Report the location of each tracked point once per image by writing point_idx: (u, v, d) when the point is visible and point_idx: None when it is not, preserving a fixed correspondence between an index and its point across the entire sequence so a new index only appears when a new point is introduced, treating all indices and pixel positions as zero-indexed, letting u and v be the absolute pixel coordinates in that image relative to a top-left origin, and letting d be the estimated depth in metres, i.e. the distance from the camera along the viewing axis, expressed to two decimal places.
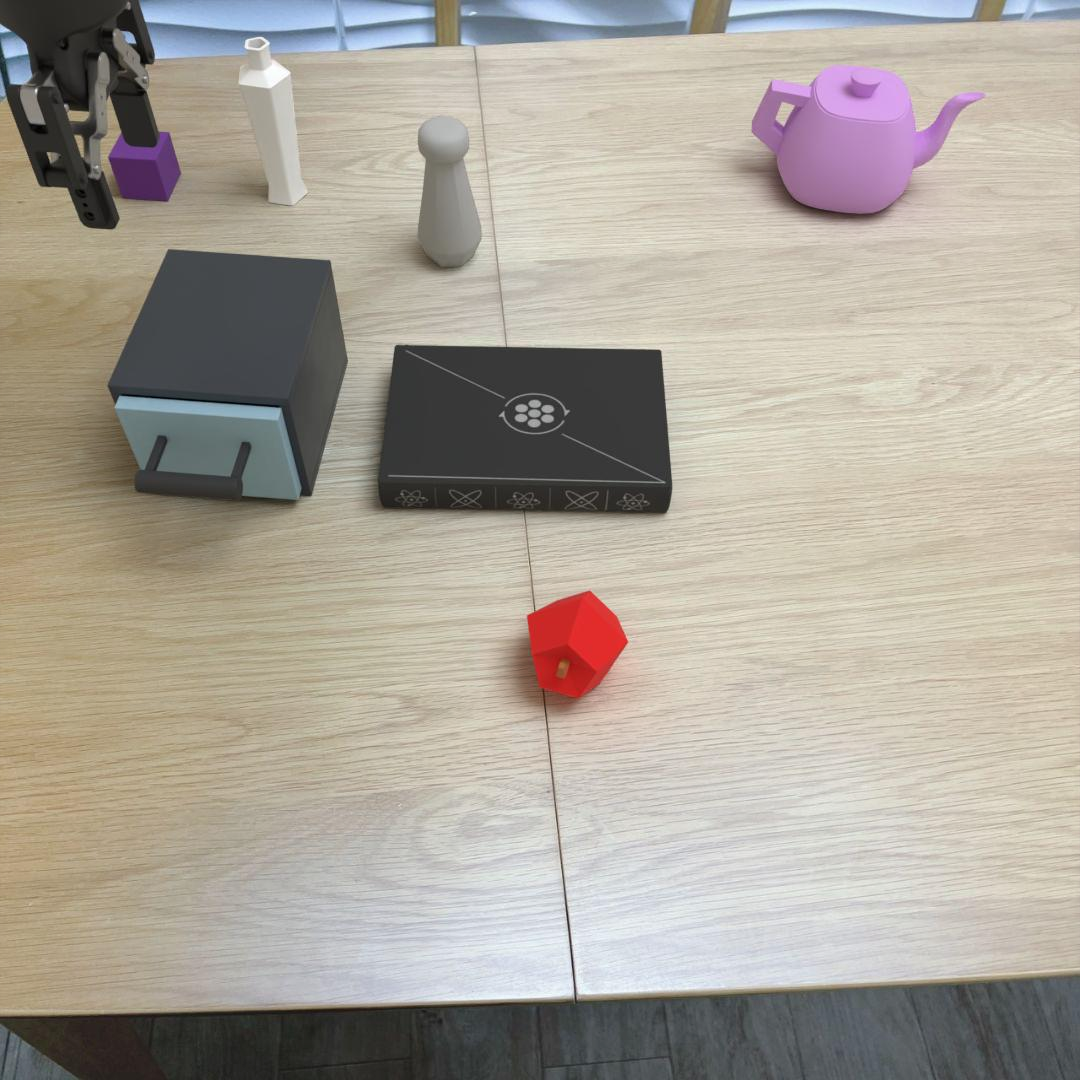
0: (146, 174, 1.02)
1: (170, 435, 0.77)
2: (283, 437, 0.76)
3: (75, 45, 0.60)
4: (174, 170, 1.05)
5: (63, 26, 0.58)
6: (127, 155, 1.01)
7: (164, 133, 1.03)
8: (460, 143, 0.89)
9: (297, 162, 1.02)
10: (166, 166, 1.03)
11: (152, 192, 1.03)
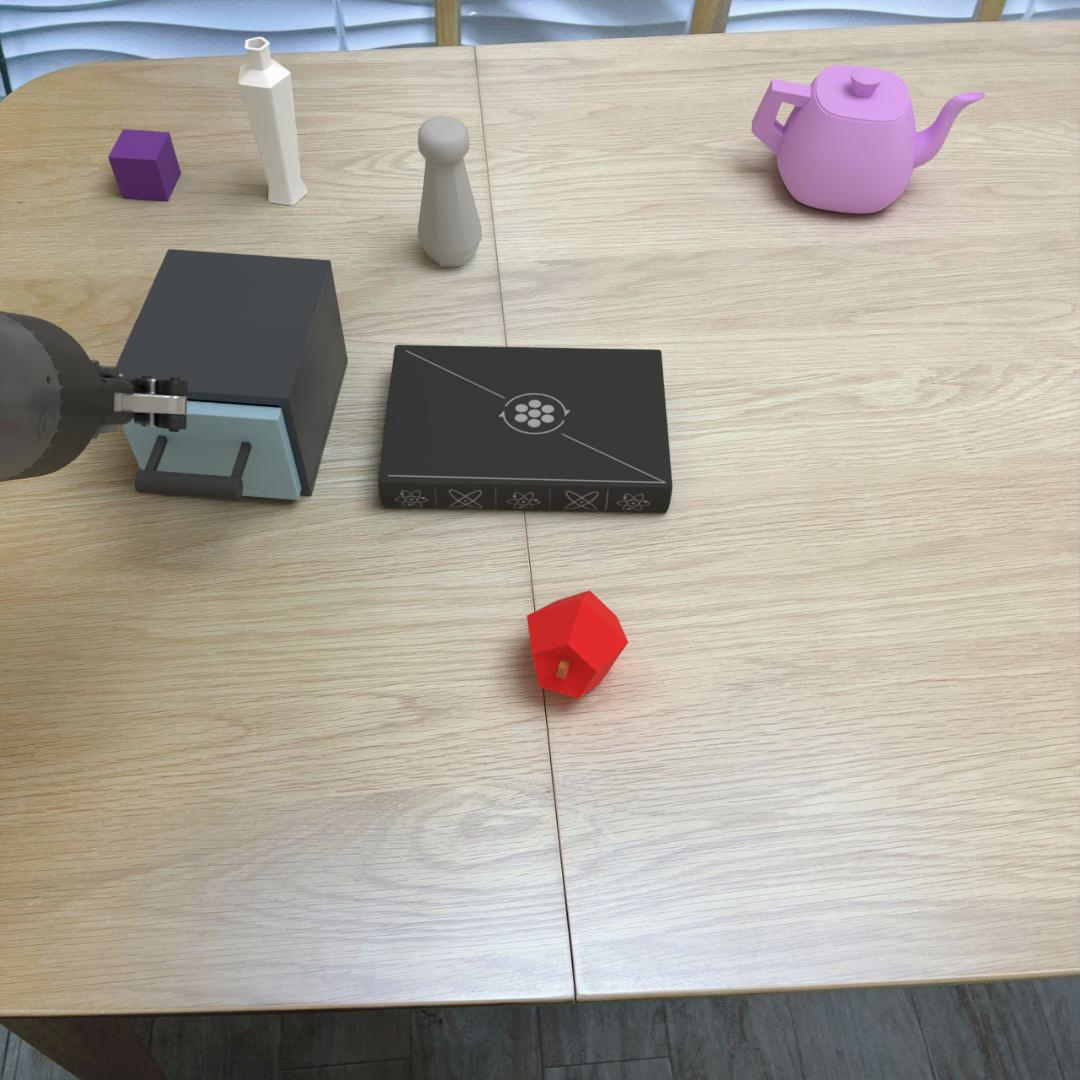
0: (146, 174, 1.02)
1: (170, 435, 0.77)
2: (283, 437, 0.76)
3: None
4: (174, 170, 1.05)
5: None
6: (127, 155, 1.01)
7: (164, 133, 1.03)
8: (460, 143, 0.89)
9: (297, 162, 1.02)
10: (166, 166, 1.03)
11: (152, 192, 1.03)
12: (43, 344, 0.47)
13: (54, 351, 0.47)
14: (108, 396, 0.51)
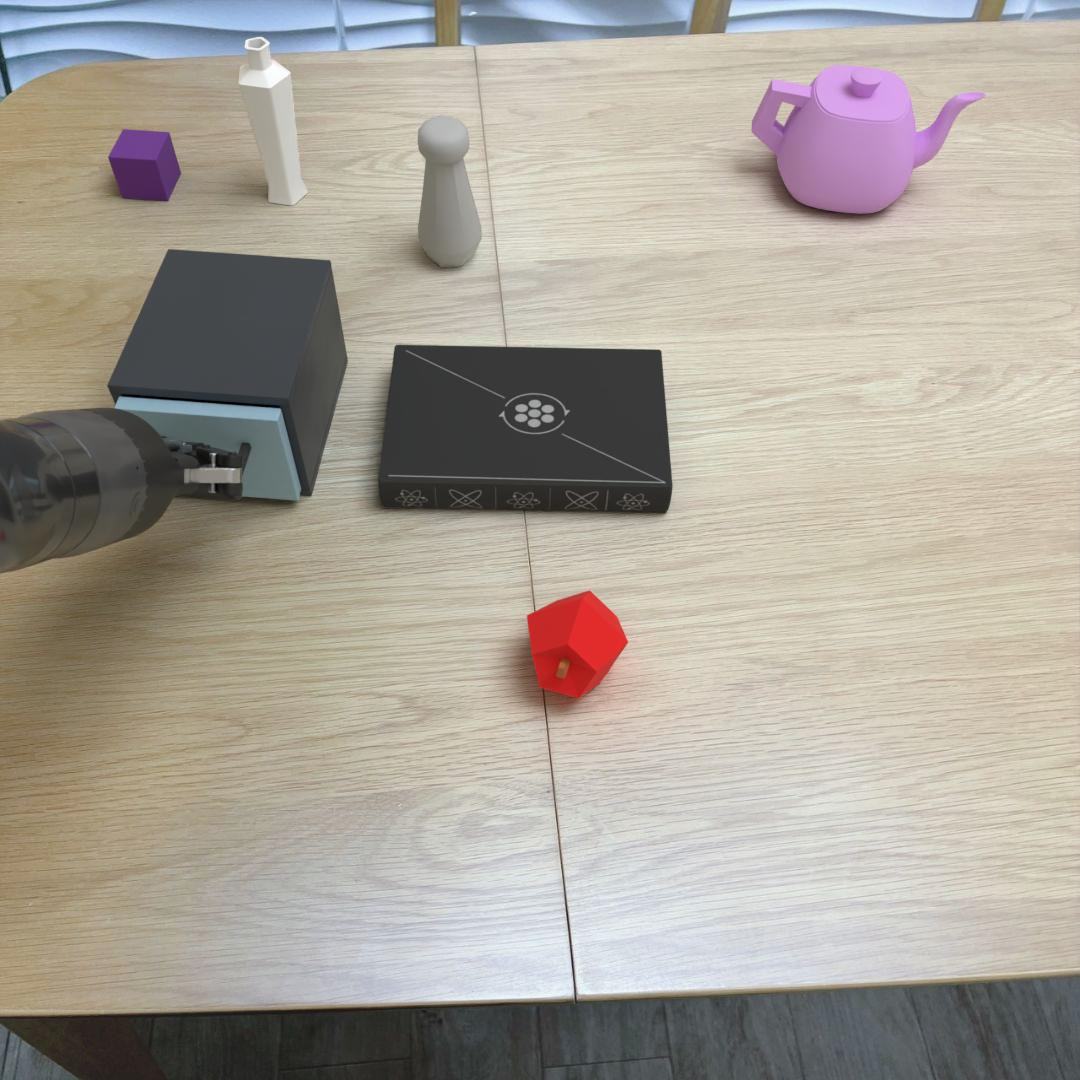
0: (146, 174, 1.02)
1: (170, 436, 0.77)
2: (282, 438, 0.76)
3: None
4: (174, 170, 1.05)
5: None
6: (127, 155, 1.01)
7: (164, 133, 1.03)
8: (460, 143, 0.89)
9: (297, 162, 1.02)
10: (166, 166, 1.03)
11: (152, 192, 1.03)
12: (132, 439, 0.58)
13: (140, 443, 0.58)
14: (180, 473, 0.62)
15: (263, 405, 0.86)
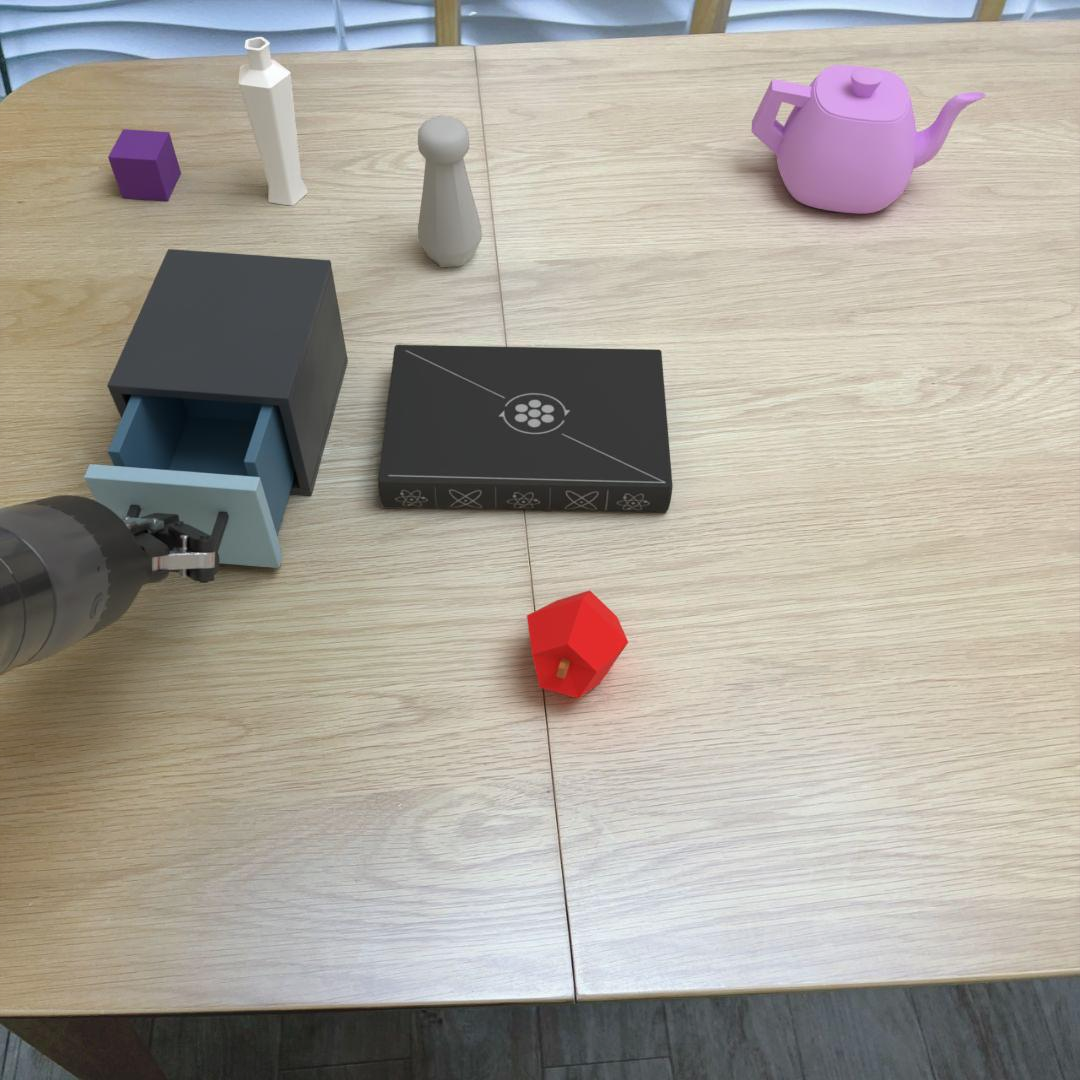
0: (146, 174, 1.02)
1: (143, 504, 0.73)
2: (261, 507, 0.72)
3: None
4: (174, 170, 1.05)
5: None
6: (127, 155, 1.01)
7: (164, 133, 1.03)
8: (460, 143, 0.89)
9: (297, 162, 1.02)
10: (166, 166, 1.03)
11: (152, 192, 1.03)
12: (93, 535, 0.54)
13: (102, 538, 0.55)
14: (147, 562, 0.59)
15: (244, 465, 0.82)
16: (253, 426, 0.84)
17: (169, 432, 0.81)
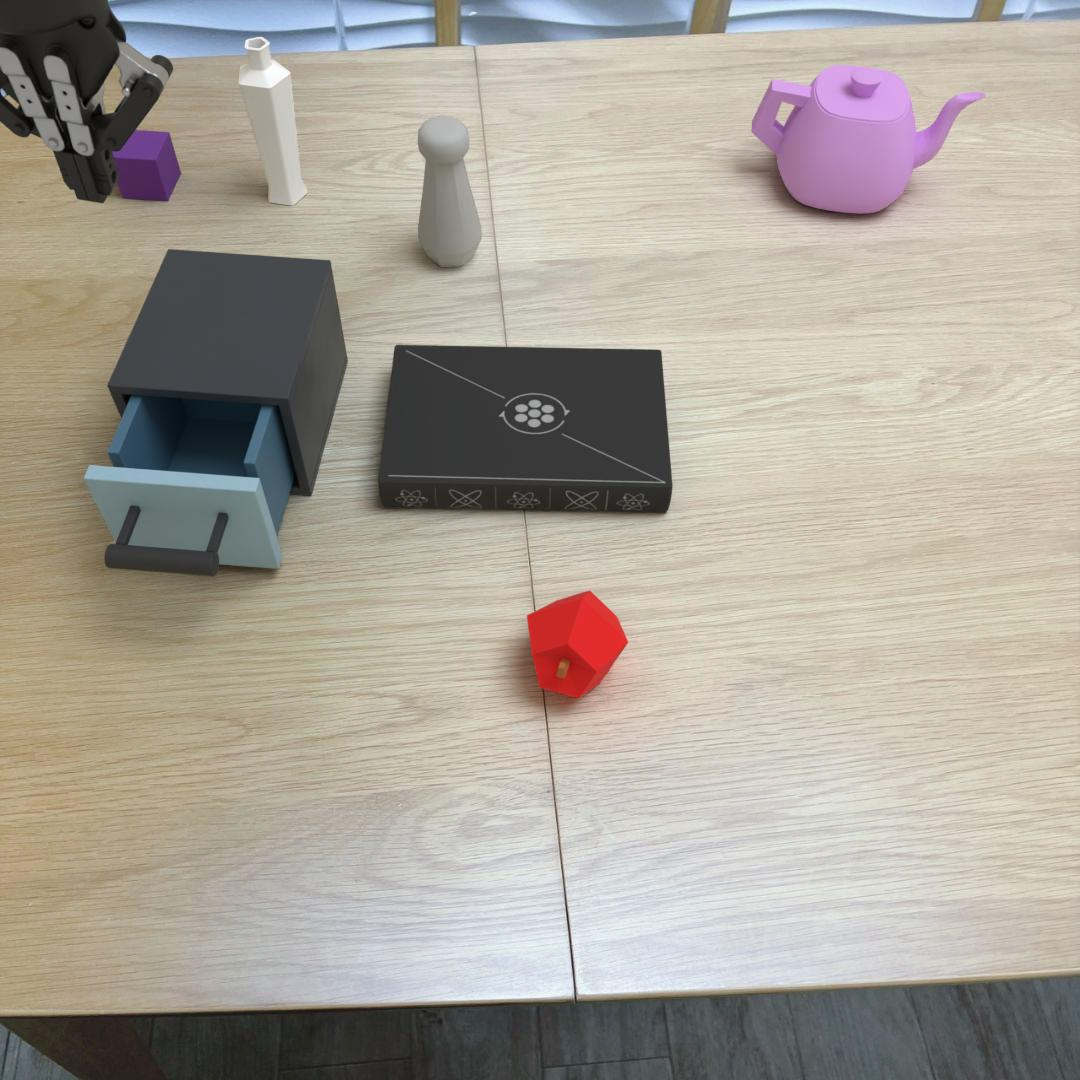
0: (146, 174, 1.02)
1: (143, 505, 0.73)
2: (261, 508, 0.72)
3: None
4: (174, 170, 1.05)
5: None
6: (127, 155, 1.01)
7: (164, 133, 1.03)
8: (460, 143, 0.89)
9: (297, 162, 1.02)
10: (166, 166, 1.03)
11: (152, 192, 1.03)
12: None
13: None
14: (106, 8, 0.56)
15: (243, 465, 0.82)
16: (253, 427, 0.84)
17: (169, 433, 0.81)
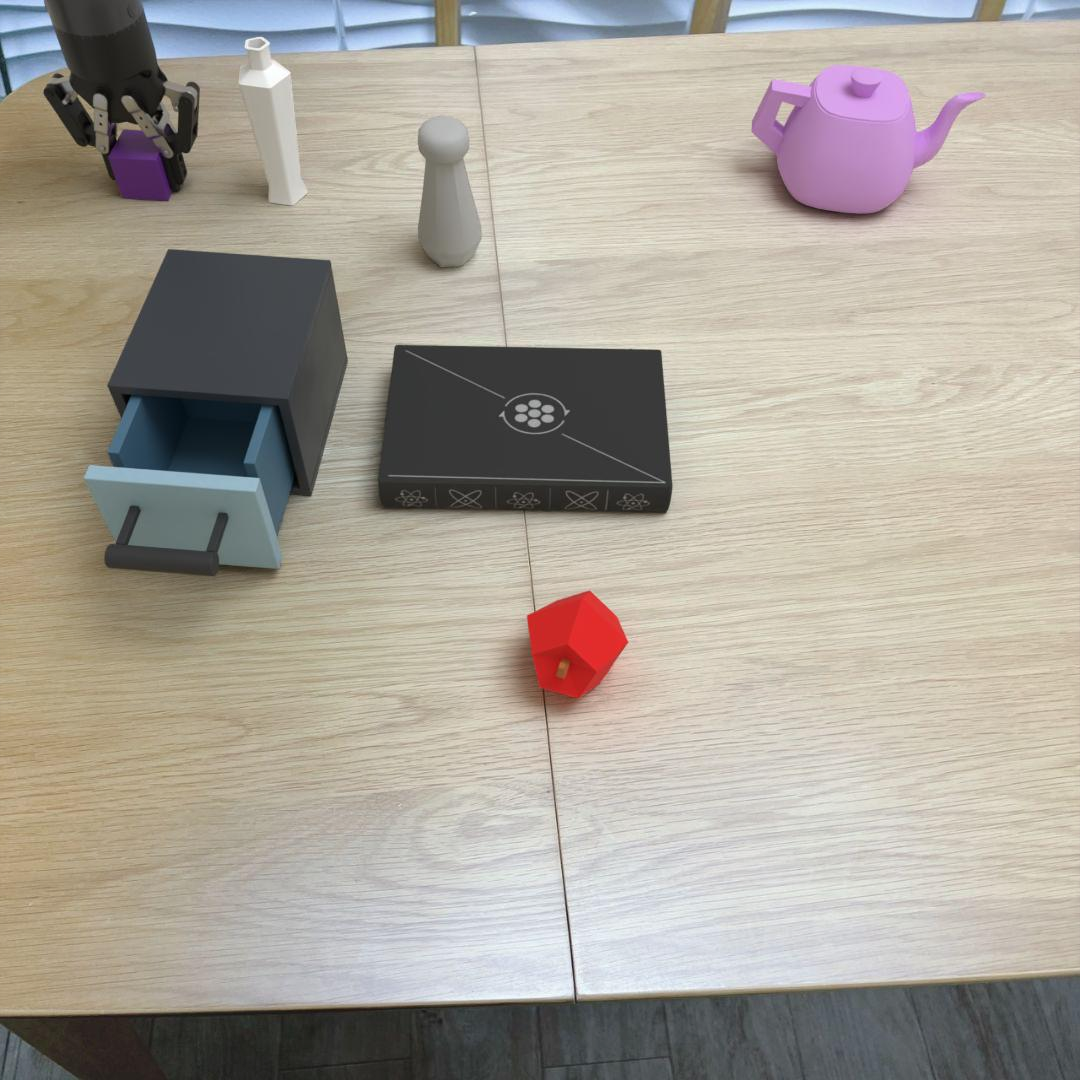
0: (146, 174, 1.02)
1: (143, 505, 0.73)
2: (261, 508, 0.72)
3: None
4: None
5: (65, 60, 0.94)
6: (127, 155, 1.01)
7: None
8: (460, 143, 0.89)
9: (297, 162, 1.02)
10: None
11: (151, 192, 1.03)
12: None
13: None
14: (156, 66, 0.95)
15: (243, 465, 0.82)
16: (253, 427, 0.84)
17: (169, 433, 0.81)
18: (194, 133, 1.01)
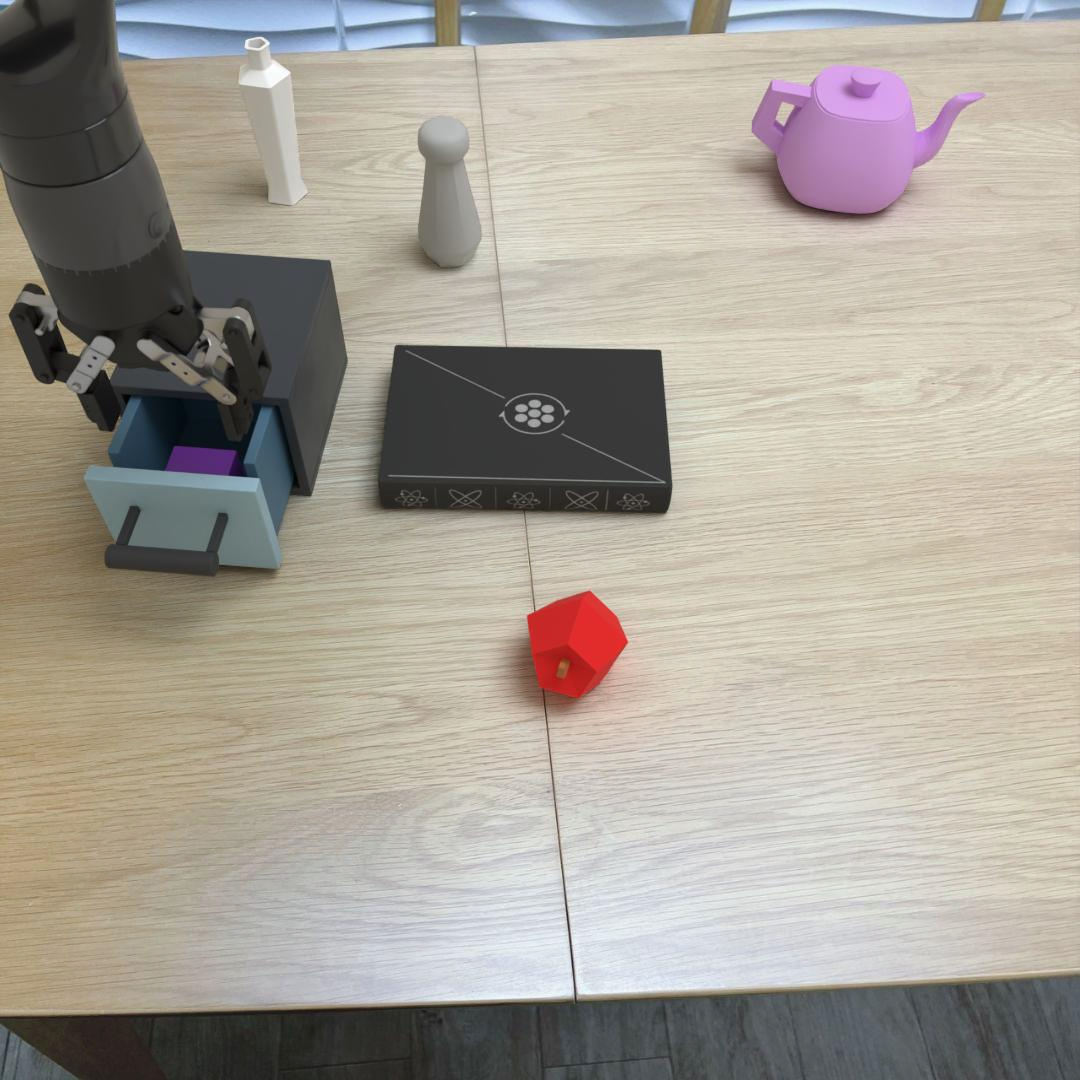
0: None
1: (143, 505, 0.73)
2: (261, 508, 0.72)
3: None
4: None
5: None
6: None
7: (230, 453, 0.77)
8: (460, 143, 0.89)
9: (297, 162, 1.02)
10: None
11: None
12: None
13: None
14: (191, 294, 0.62)
15: (243, 466, 0.82)
16: (253, 427, 0.84)
17: (169, 433, 0.81)
18: (266, 366, 0.67)
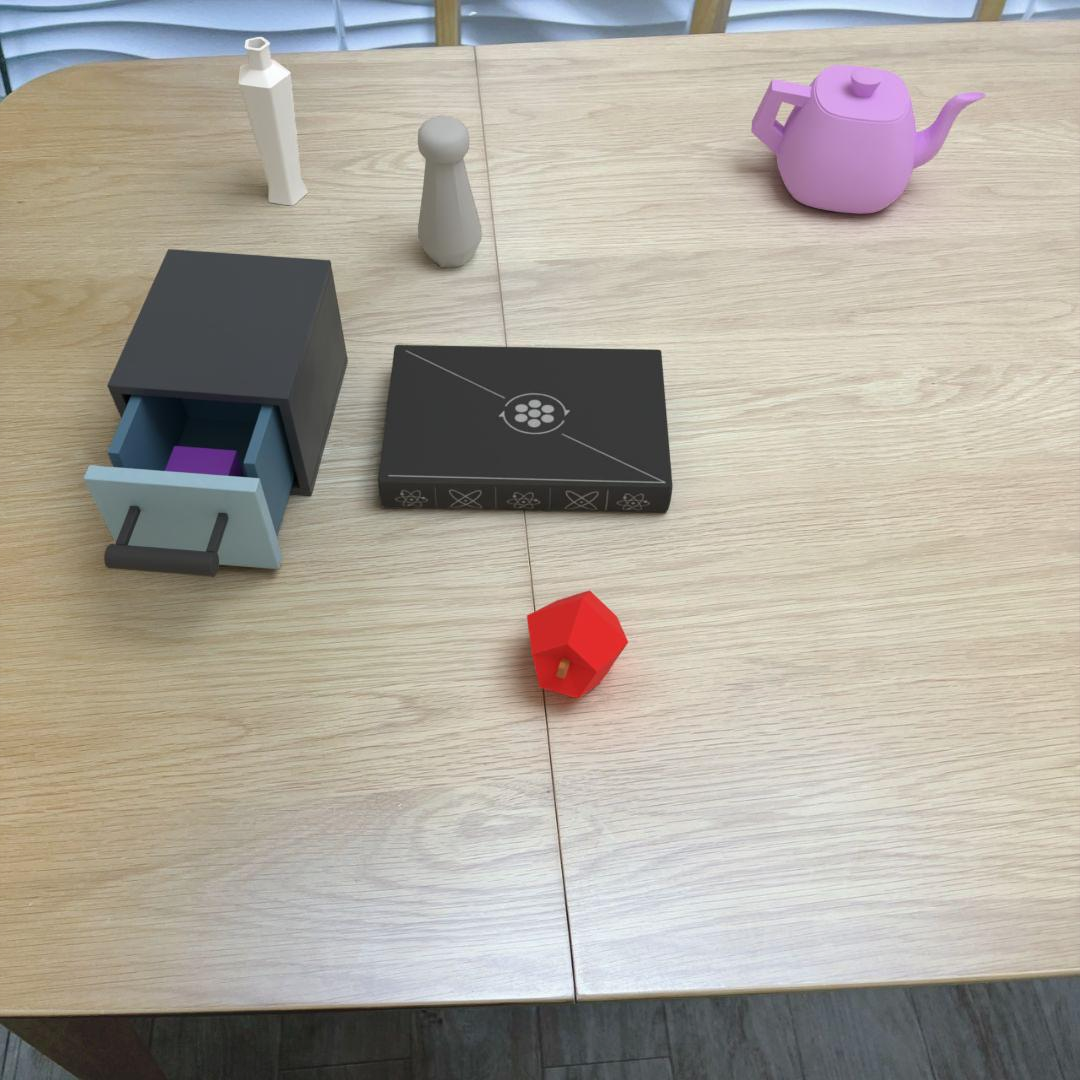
0: None
1: (143, 505, 0.73)
2: (261, 508, 0.72)
3: None
4: None
5: None
6: None
7: (230, 453, 0.77)
8: (460, 143, 0.89)
9: (297, 162, 1.02)
10: None
11: None
12: None
13: None
14: None
15: (243, 466, 0.82)
16: (253, 427, 0.84)
17: (169, 433, 0.81)
18: None
